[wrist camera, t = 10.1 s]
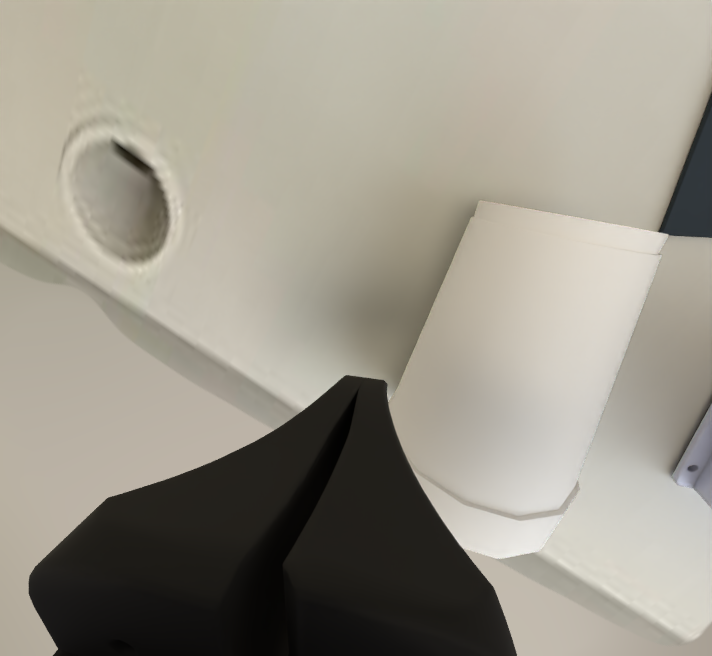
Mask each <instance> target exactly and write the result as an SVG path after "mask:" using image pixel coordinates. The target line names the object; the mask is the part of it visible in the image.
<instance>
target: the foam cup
mask: <svg viewBox="0 0 712 656" xmlns="http://www.w3.org/2000/svg"><path fill="white" fill-rule="evenodd" d="M668 236H669V235H668V234H664V233H659V232H654V231H649V230H643V229H638V228H633V227H627V226H622V225H617V224H611V223H606V222H600V221H595V220H589V219H584V218H579V217H573V216H567V215H562V214H556V213H551V212H545V211H540V210H534V209H529V208H523V207H517V206H511V205H506V204H500V203H494V202H488V201H482V200H479V202H478V205H477V208H476V212H475V215H474V216H473V217H471V219H470V221H469V223H468V225H467V228H466V230H465V232H464V235H463V237H462V239H461V242H460V244H459V246H458V249H457V251H456V253H455V256H454V258H453V260H452V263H451V265H450V267H449V269H448V272H447V274H446V276H445V279H444V281H443V283H442V286H441V288H440V290H439V293H438V295H437V297H436V300H435V302H434V304H433V306H432V309H431V311H430V313H429V316H428V318H427V320H426V323H425V325H424V327H423V330H422V332H421V334H420V337H419V339H418V341H417V344H416V346H415V348H414V350H413V353H412V355H411V357H410V360H409V362H408V364H407V367H406V369H405V371H404V374H403V376H402V378H401V381H400V383H399V385H398V387H397V390H396V391H395V392H394V394H393V396H392V397H391V399H390V400H389V402H388V405H389V409H390V413H391V417H392V420H393V424H394V427H395V430H396V433H397V436H398V438H399V441H400V444H401V446H402V448H403V451H404V453H405V455H406V458H407V460H408V462H409V464H410V466H411V468H412V470H413V472H414V474H415V476H416V478H417V480H418V481H419V483H420V485H421V487H422V489H423V490H424V492H425V494H426V495H427V497H428V498H429V500H430V502H431V503H432V505H433V506H434V508H435V509H436V511H437V513H438V514H439V516H440V517H441V519H442V521H443V522H444V523H445V525H446V526H447V528H448V529H449V531H450V532H451V533H452V535H453V536H454V538H455V539H456V540H457V542H458V543H459V545H460V546H461V547H462V548H464V549H467V550H470V551H474V552H477V553H480V554H484V555H487V556H490V557H493V558H497V559H502V558H507V557H513V556H518V555H523V554H528V553H533V552H538V551H540V550H541V549H542V547H543V546H544V544H545V543H546V541H547V540H548V538H549V537H550V535H551V534H552V532H553V531H554V529H555V528H556V527H557V525H558V523H559V522H560V520H561V519H562V517H563V516H564V514H565V512H566V511H567V509H568V508H569V506H570V505H571V503H572V501H573V500H574V498H575V497H576V495H577V493H578V492H579V490H580V488H579V484H578V477H579V475H580V472H581V469H582V467H583V464H584V461H585V459H586V456H587V453H588V451H589V448H590V446H591V443H592V440H593V438H594V435H595V432H596V430H597V427H598V424H599V422H600V419H601V416H602V414H603V411H604V408H605V406H606V403H607V400H608V398H609V395H610V392H611V390H612V387H613V385H614V382H615V379H616V377H617V374H618V371H619V369H620V366H621V363H622V361H623V358H624V355H625V353H626V350H627V347H628V345H629V342H630V339H631V337H632V334H633V331H634V329H635V326H636V323H637V321H638V318H639V316H640V313H641V310H642V308H643V305H644V302H645V300H646V297H647V294H648V292H649V289H650V286H651V284H652V281H653V278H654V276H655V273H656V270H657V268H658V265H659V262H660V260H661V257H662V255H661V254H659V253H660V251H661V249H662V247H663V245H664V244H665V242H666V240H667V238H668Z"/></svg>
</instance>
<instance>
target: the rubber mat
mask: <svg viewBox="0 0 712 656" xmlns="http://www.w3.org/2000/svg"><path fill="white" fill-rule="evenodd" d="M659 233H664V234H668V235H673V236H691V237H709V238H712V95H711V97H710V100H709V103H708V105H707V108H706V111H705V113H704V116H703V118H702V121H701V124H700V126H699V129H698V132H697V134H696V137H695V139H694V142H693V145H692V147H691V150H690V153H689V155H688V158H687V160H686V163H685V166H684V168H683V171H682V174H681V176H680V179H679V181H678V184H677V187H676V189H675V192H674V195H673V197H672V200H671V202H670V205H669V208H668V210H667V213H666V216H665V218H664V221H663V223H662V226H661V229H660V231H659Z"/></svg>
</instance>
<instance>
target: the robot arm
mask: <svg viewBox="0 0 712 656" xmlns="http://www.w3.org/2000/svg"><path fill="white" fill-rule="evenodd" d="M691 465H692V466H691ZM672 479H673V480H674V482H675V483H676V484H677V485H679V486H683V487H689V488H694V489H695V491H696V492H697V493H698V494H699V495H700V496H701V497H702V498H703V499H704V501H705V502H706V503H707V504H708V505H709V506H710V507H711V508H712V403H711V405H710V407H709V409H708V411H707V413H706V414H705V416H704V418H703V420H702V422H701V424H700V425H699V427H698V429H697V431H696V433H695V434H694V436H693V438H692V440H691V442H690V444H689V445H688V447H687V449H686V451H685V453H684V455H683V456H682V458H681V460H680V462H679V464H678V466H677V467H676V469H675V471H674V473H673V475H672ZM29 596H30V598H31V600H32V603H33V605H34V607H35V609H36V611H37V613H38V614H39V616H40V618H41V619H42V621H43V623H44V625H45V626H46V628H47V630H48V632H49V634H50V635H51V637H52V639H53V641H54V642H55V644H56V646H57V647H58V650H57V651H56V653H55V654H54V655H53V656H517V654H516V650H515V647H514V644H513V640H512V637H511V634H510V631H509V628H508V625H507V622H506V619H505V616H504V613H503V611H502V608H501V605H500V603H499V600H498V597H497V595H496V592H495V590H494V588H493V586H492V585H491V584H490V583H489V581H488V580H487V579H486V578H485V576H484V575H483V574H482V573H481V571H480V570H479V569H478V568H477V567H476V565H475V564H474V563H473V562H472V560H471V559H470V558H469V556H468V555H467V554H466V552H465V551H464V550H463V548H462V547H461V546H460V545H459V543H458V542H457V540H456V539H455V538H454V536H453V535H452V533H451V532H450V531H449V529H448V528H447V526H446V525H445V523H444V522H443V521H442V519H441V517H440V516H439V514H438V513H437V511H436V509H435V508H434V506H433V505H432V503H431V502H430V500H429V498H428V497H427V495H426V494H425V492H424V490H423V489H422V487H421V485H420V483H419V481H418V480H417V478H416V476H415V474H414V472H413V470H412V468H411V466H410V464H409V462H408V460H407V458H406V455H405V453H404V451H403V448H402V446H401V444H400V441H399V438H398V436H397V433H396V430H395V427H394V424H393V420H392V417H391V413H390V409H389V405H388V399H387V383H386V382H385V381H384V380H378V379H371V378H363V377H356V376H349V375H346V376H344V377H343V378H342V379H340V380H339V381H338V382H337V383H336V384H335V385H334V386H333V387H331V388H330V389H329V390H328V391H327V392H326V393H324V394H323V395H322V396H321V397H320V398H318V399H317V400H316V401H315V402H313V403H312V404H311V405H310V406H308V407H307V408H306V409H305V410H303V411H302V412H300V413H299V414H298V415H296V416H295V417H293V418H292V419H291V420H289V421H288V422H287V423H285V424H284V425H282V426H281V427H279V428H277V429H276V430H274V431H272V432H271V433H269V434H267V435H265V436H264V437H262V438H260V439H259V440H257V441H255V442H253V443H251V444H249V445H247V446H245V447H243V448H241V449H239V450H237V451H235V452H232V453H230V454H228V455H226V456H224V457H222V458H220V459H218V460H215V461H213V462H211V463H208V464H206V465H203V466H201V467H199V468H197V469H194V470H191V471H188V472H186V473H183V474H180V475H178V476H175V477H172V478H169V479H166V480H164V481H161V482H157V483H154V484H151V485H148V486H145V487H142V488H139V489H135V490H132V491H129V492H126V493H123V494H119V495H116V496H112V497H109V498H107V499H106V500H105V501H104V502H103V503H102V504H101V505H99V507H97V508H96V509H95V510H94V511H93V512H92V513H91V514H90V515H89V516H88V517H87V518H86V519H85V520H84V521H83V522H82V523H81V524H80V525H78V526H77V527H76V528H75V529H74V530H73V531H72V532H71V533H70V534H69V535H68V536H67V537H66V538H65V539H64V540H63V541H62V542H61V543H60V544H59V545H58V546H56V547H55V548H54V549H53V550H52V551H51V552H50V553H49V554H48V555H47V556H46V557H45V558H44V559H43V560H42V561H41V562H40V563H39V564H38V565H37V566H35V568H34V570H33V571H32V573H31V575H30V577H29Z"/></svg>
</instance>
